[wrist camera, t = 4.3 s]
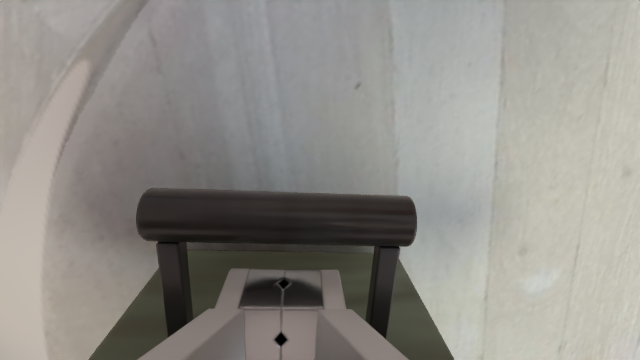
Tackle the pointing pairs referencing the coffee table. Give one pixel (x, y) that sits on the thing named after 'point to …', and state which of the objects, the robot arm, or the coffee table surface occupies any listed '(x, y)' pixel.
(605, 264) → the coffee table surface
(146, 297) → the drawer
